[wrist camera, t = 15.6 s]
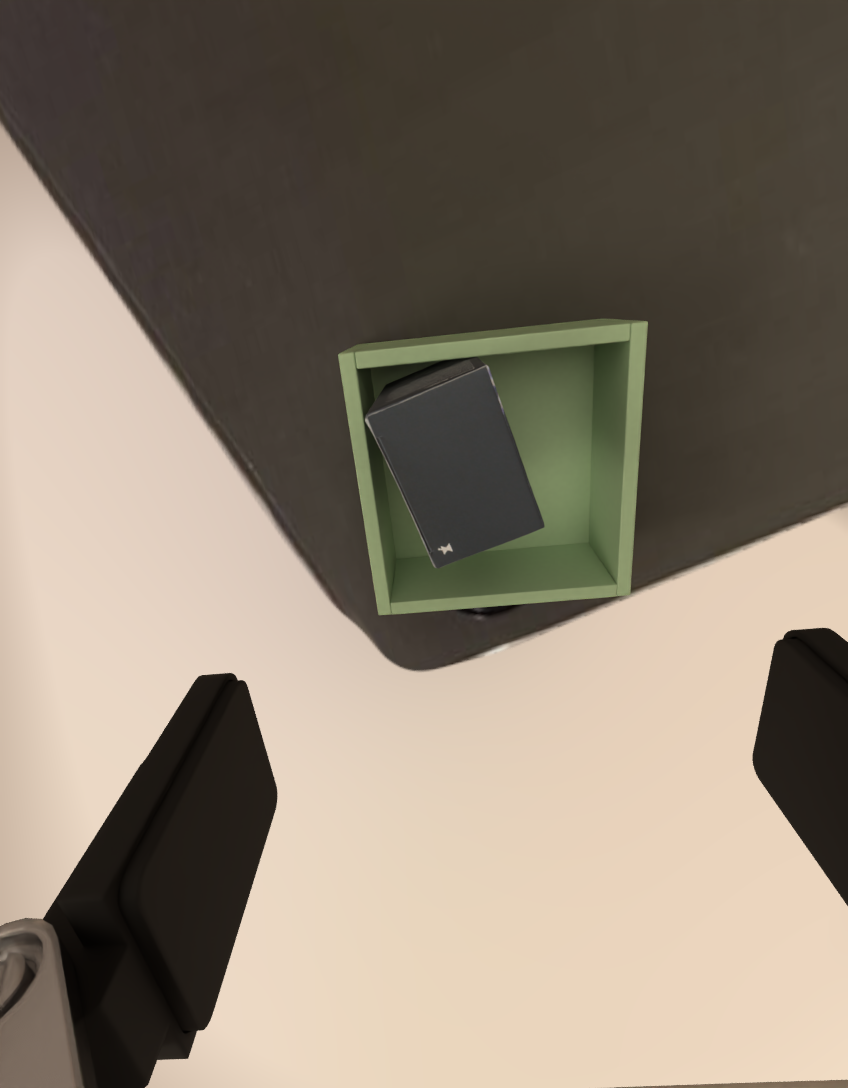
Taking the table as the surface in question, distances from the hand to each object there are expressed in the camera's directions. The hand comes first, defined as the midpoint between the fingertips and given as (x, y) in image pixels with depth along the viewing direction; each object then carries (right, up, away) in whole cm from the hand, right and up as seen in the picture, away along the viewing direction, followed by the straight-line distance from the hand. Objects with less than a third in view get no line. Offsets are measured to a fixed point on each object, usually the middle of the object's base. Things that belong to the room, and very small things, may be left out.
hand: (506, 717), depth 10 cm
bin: (+2, +9, +25) cm, 26 cm away
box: (0, +10, +23) cm, 26 cm away
